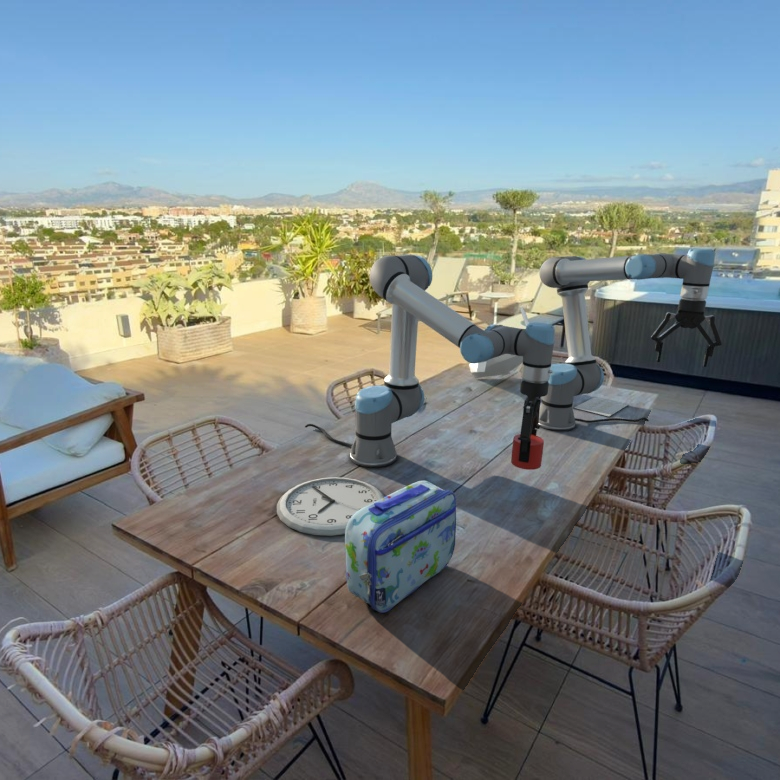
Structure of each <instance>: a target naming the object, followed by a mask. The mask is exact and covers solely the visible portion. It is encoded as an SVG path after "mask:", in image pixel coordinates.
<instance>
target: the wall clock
mask: <svg viewBox="0 0 780 780" xmlns="http://www.w3.org/2000/svg"><path fill="white" fill-rule="evenodd" d="M384 497H386V495H385V494H384V493H383V492H382V491H381V490H380V489H379V488H377V487H376V486H374V485H372V484H371V483H369V482H365V481H362V480H359V479H355V478H349V477H338V476H337V477H335V476H333V477H332V476H331V477H322V478H317V479H312V480H307V481H305V482H302V483H299V484H297V485H295V486H293V487H292V488H290V489H288V490H287V491H286V492H285V493H284V494H283V495H281V496H280V498H279V499H278V502H277V503H276V515H277V517H278V518H279V520H280V521H281V522H282V523H283V524H285V525H286V526H287V527H288V528H290V529H293V530H295V531H297V532H299V533H303V534H308V535H312V536H327V537H328V536H329V537H331V536H332V537H333V536H342V535H345V531H346V527H347V524H348V522H349V520H350V518H351V517H352V515H353V514H354V513H355V512H357V511H358V510H360V509H362V508H364V507H366V506H368V505H370V504H372V503H374V502H376V501H378V500H380V499H382V498H384Z"/></svg>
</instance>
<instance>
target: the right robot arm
mask: <svg viewBox="0 0 780 780" xmlns="http://www.w3.org/2000/svg"><path fill="white" fill-rule="evenodd" d="M715 257H716V251H715V250H714V249H709V248H690V249H689V250H688V252H687V253H686V254H676V253H675V254H674V253H665V252H662V253H653V254H646V253H643V254H642V253H641V254H635V255H624V256H611V257H600V258H589V259H586V258H585V257H581V256H576V255H573V256H553V257H550V258H548V259H546V260H545V261H544V262H543V263H542V265H541V266H540V268H539V273H538V274H539V279H540V281H541V282H542V284H544V285H545V286H546V287H548V288H551V289H556V294H557V296H559V297H560V298H561V302H562V303H561V304H562V310H563V311H562V312H563V313H562V314H563V320H564V330H565V339H566V346H567V347H566V348H567V358H566V360H565V361H564V363H554V364H551V368H550V370H552V371H553V373H550V377H549V380H548V382H549V388H548V394H547V395H546V396H543V397H541V403H540V411H539V423H538V424H537V425H540V428H542V429H544V430H549V431H556V432H567V431H572V430H574V429H575V428H576V422H582V423H586V424H590V423H591V424H592V423H600V422H611V421H613V422H614V421H617V422H618V421H621V422H630V423H638V422H641V421H646V422H650V420H649V419H648V418H647V417H645V416H643V417H640V418H637V419H632V418H631V419H630V418H621V417H616V418H615V417H611V418H610V417H608V418H599V419H594V420H593V419H590V420H589V419H587V420H586V419H581V418H577V417H576V416H575V413H574V407H573V405H574V398H575V397H579V396H581V395H585V394H586V395H588V394H592V393H593V392H596V391H598V390H599V388H600V387H602V385H603V383H604V381H605V374H604V373H605V372H604V369H603V368H602V367H601V366H600V365H599V364H598V363H597V358H596V357H595V356H593V354H592V349H591V339H590V330H589V323H588V322H589V321H588V311H587V303H586V292H587V291H588V290H589V283H590V282H603V281H623V280H625V281H626V280H637V281H638V280H639V281H640V280H648V279H664V278H665V279H666V278H667V279H669V278H670V279H681V280H682V285H681V289H680V295H679V296H680V299H679V301H678V306H677V311H676V313H673V312H670V311H667V312H666V313H665V316H664V319H663V320H662V321H661V322H660V324H659V325H658V326H657V328H656V330H655V331H653V333H652V334H651V336H650V338H651V340H653V341H655V347H654V351H655V352H657V357H656V362H657V363H660V362H661V357H662V351H663V347H664V342H663V340H665V339H666V338H667V337H669V335H671V334H672V333H673V332H675V331H676V330H677V329H679V328H680V327H681V328H683V329H696V328H697V329H698V331H699V332H700V334H701V335H702V337H703V338H704V340H705V341H706V342H707V343H708V345H705V346H706V347H705V351H704V357H703V361H702V367H704V368H707V366H708V360H709V358H710V357H713V355H714V349H715V347H719V346H722V344H723V343H722V341H721V338H720V335H719V331H718V329H717V326H716V323H715V322H716V317H715V316H714V314H711V315H705V311H706V306H707V301H706V299H708V296H709V295H708V294H709V290H710V283H711V279H712V274H713V270H714V266H715ZM673 318H675V320H676V321H675V322H674V323H673V325H671V326H670V327H669V328H668V329H666V330H665V331H664V332H662V331H663V329H664V328H665V327H666V326H667V324H668V323H669V321H671V320H673ZM705 320H706V323H708V324H709V327H710V329H711V332H712V335H713V338H714V341H713V340H712V338H711V337H710V336H709V334H708V333H707V331H705V329H704V327H703V326H702V325H701V324H702V323H703V322H704V321H705ZM661 332H662V333H661ZM660 333H661V334H660ZM659 334H660V335H659Z"/></svg>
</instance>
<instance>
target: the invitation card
mask: <svg viewBox="0 0 780 780" xmlns="http://www.w3.org/2000/svg"><path fill="white" fill-rule="evenodd" d="M628 406H629V404H627V403H623V402H618V401H614V400H609V399H605V398H601V397H596V396H593V397H592V398H590V399H588V400H586V401H584V402H582V403H580V404H578V405H575V406H574V407H573V409H575V410H581V411H584V412H587V413H593V414H596V415H600V416H604V417H608V418H610V417H611V416H613V415H614V414H616V413H617V412H619V411H621V410H623V409H624V408H626V407H628Z"/></svg>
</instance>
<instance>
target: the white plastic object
mask: <svg viewBox="0 0 780 780" xmlns="http://www.w3.org/2000/svg"><path fill="white" fill-rule="evenodd" d="M519 310H520V314H521V316H522V319H523V323H524V326H525V327H526V326H527V324H529V323H530V321H529V317H528V315H527V312H526V310H525V309H524V307H520V308H519ZM522 363H523V356H517V355H511V354H504V355H501V356H498V357H495V358H492V359H489V360H487V361H485V362H481V363H469V364H468V366H469V370H470V373H471V375H472V376H473V378H475V379H478V378H487V377H494V376H495V377H497V376H501V377H504V376H507V375H510V374H511V371H513V370H514V369H516V368H517V367H519V366H520V365H522Z"/></svg>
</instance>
